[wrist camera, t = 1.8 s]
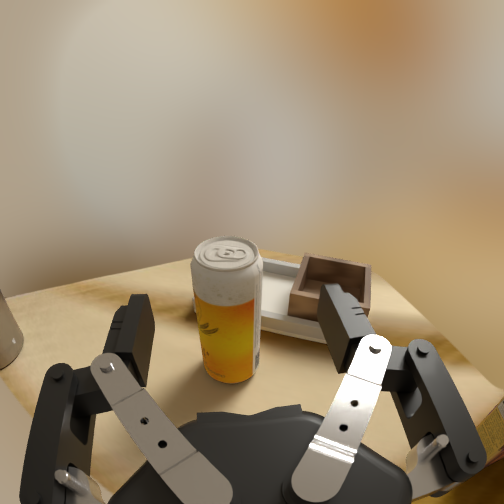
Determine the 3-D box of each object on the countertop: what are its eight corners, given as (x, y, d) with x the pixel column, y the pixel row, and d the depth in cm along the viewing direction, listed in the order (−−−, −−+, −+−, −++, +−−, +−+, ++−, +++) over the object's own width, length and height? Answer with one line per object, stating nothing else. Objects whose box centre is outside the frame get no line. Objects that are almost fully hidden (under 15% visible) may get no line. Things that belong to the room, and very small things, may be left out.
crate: (286, 321, 38) (289, 293, 36) (301, 279, 46) (304, 252, 44) (360, 336, 36) (370, 308, 33) (364, 291, 44) (371, 264, 41)
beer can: (210, 343, 36) (200, 231, 28) (261, 348, 36) (266, 236, 28) (199, 383, 31) (179, 268, 23) (255, 390, 30) (259, 275, 23)
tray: (194, 312, 41) (192, 297, 40) (229, 263, 51) (229, 250, 50) (363, 350, 35) (369, 336, 34) (367, 290, 45) (371, 276, 44)
